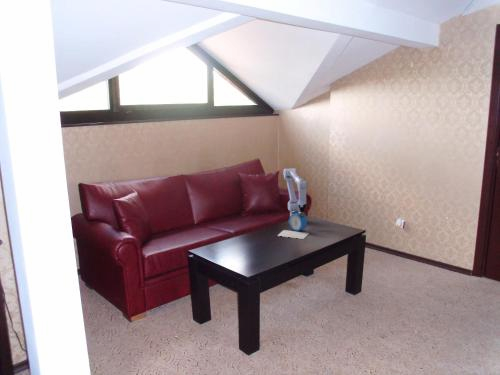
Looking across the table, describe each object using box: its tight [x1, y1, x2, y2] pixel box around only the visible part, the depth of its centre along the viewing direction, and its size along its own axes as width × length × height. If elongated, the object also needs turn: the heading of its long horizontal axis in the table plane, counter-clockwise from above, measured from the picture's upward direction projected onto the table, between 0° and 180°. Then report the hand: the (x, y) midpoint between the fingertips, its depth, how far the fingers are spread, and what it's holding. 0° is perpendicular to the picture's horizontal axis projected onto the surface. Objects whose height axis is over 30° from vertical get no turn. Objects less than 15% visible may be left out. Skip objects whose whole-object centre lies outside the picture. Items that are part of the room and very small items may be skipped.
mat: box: [277, 229, 310, 240], centre depth 301 cm, size 14×20×1 cm
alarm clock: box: [288, 210, 308, 232], centre depth 310 cm, size 13×6×15 cm, turn 43°
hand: (302, 213), depth 318 cm, fingers closed
